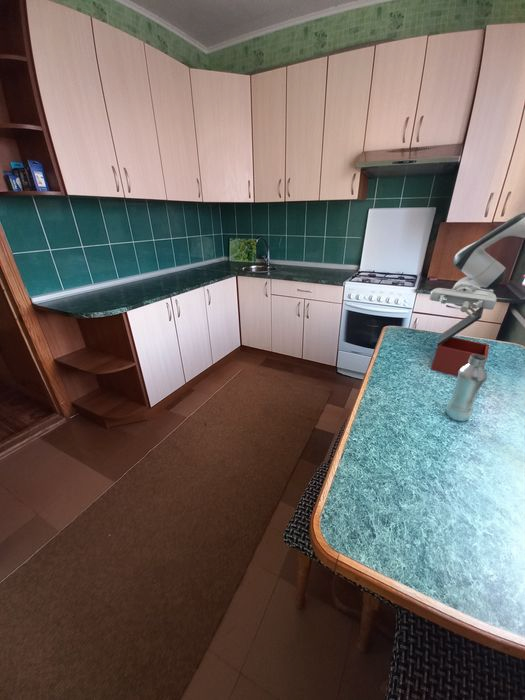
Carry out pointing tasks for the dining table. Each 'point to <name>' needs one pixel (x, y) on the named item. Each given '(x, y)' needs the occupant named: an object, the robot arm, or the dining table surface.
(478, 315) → the box lid
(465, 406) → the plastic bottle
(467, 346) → the red box
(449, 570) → the dining table surface
